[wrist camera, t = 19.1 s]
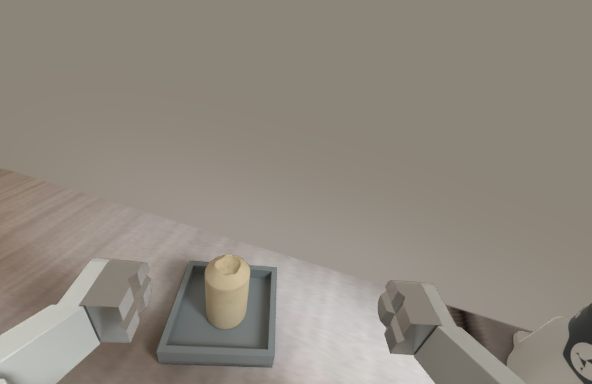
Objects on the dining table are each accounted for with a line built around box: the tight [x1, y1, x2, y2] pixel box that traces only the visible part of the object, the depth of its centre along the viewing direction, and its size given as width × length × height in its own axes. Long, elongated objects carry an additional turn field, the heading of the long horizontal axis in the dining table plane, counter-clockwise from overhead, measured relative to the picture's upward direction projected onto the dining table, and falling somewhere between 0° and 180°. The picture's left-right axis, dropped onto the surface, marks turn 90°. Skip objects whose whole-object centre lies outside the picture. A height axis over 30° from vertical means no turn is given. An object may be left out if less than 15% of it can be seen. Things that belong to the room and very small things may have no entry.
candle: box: [205, 254, 250, 329], centre depth 37 cm, size 6×6×10 cm
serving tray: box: [156, 261, 277, 368], centre depth 39 cm, size 14×14×3 cm
